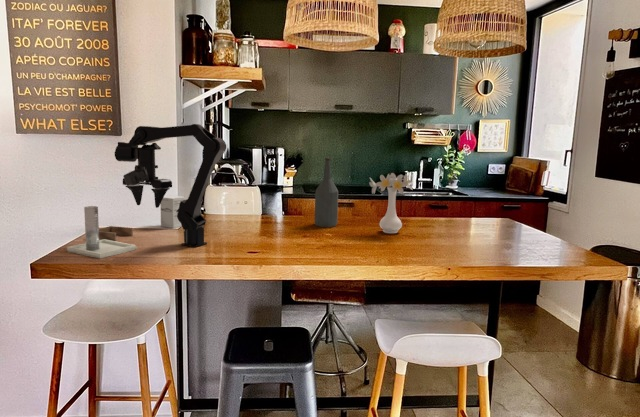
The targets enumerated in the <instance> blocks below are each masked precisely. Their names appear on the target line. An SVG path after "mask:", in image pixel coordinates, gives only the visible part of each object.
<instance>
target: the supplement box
mask: <svg viewBox="0 0 640 417" xmlns="http://www.w3.org/2000/svg"><path fill="white" fill-rule="evenodd" d="M177 196H178V195H177ZM183 200H186V197H185V196H180V195H179V196H178V197H163V199H162V201H161V204H160V227H163V228H169V229H177V228H183V227H182V225H181V223H180V222H179V220H178V218H177V214H178V212H176V211H177V210H178V208H179V205H180V202H181V201H183Z"/></svg>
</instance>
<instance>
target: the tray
mask: <svg viewBox="0 0 640 417" xmlns="http://www.w3.org/2000/svg"><path fill="white" fill-rule="evenodd" d="M99 246H100V249H98V250H93V251H89V250H86V242H84V243H79V244H74V245H70V246H66V252H67V253H72V254H76V255H81V256H87V257H91V258H95V259H99V260H100V259H104V258H108V257H112V256H116V255H120V254H124V253H128V252H132V251H136V250H137V244H132V243H126V242H120V241H117V240H116V241H111V240H106V239H102V240H99Z"/></svg>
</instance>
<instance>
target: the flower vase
mask: <svg viewBox="0 0 640 417" xmlns="http://www.w3.org/2000/svg"><path fill="white" fill-rule="evenodd" d="M379 179H380V181H378V182H375V181H374V180H373V178H371V177H369V180H370V182H369V184H368V185H369V186H370V187H371V194H372V195H376V194H375V193H376V191H377V190H376V189H377V188H378V189H380V191H381V192H384V191H385V189H386V188H387V193H388V201H387V202H388V203H387V210H386V213H385V215H384V216H383V217H382V218H381V219H380V221H379V227H380V228H381V229H382V232H383V233H385V234H397V233H398V232H399V230H400V229H401V228H402V227H403V223H402V220H401V219H400V218H399V217H398V216H397V215H398V214H397V209H396V200H397V191H398V193H399V194H401V195H403V194H404V188H405V187H407V188H409V189H410V190H412V191H413V187H412V184H413V182H412V180H411V179H409V176H408V174H407V173H405V175H403V174H398V175H396V174H395V173H394V172H391V173H388V174H387V176H386V177H385V176H384V175H383V174H381V175H380V176H379Z"/></svg>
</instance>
